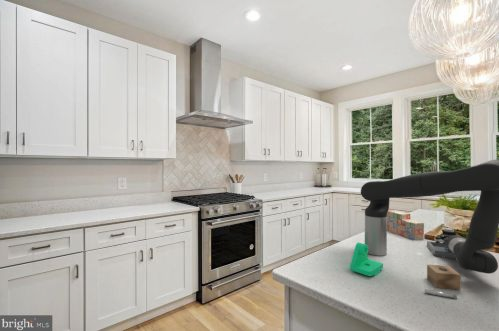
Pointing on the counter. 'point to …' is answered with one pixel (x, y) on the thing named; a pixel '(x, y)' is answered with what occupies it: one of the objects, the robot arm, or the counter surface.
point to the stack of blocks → (404, 225)
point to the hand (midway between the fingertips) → (447, 236)
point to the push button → (449, 233)
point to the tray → (440, 250)
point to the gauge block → (443, 277)
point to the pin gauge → (441, 294)
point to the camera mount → (364, 261)
